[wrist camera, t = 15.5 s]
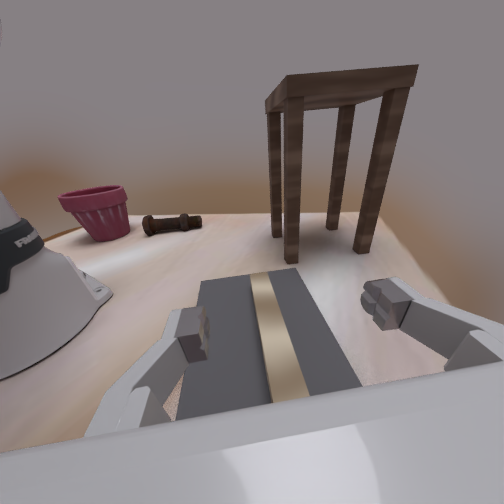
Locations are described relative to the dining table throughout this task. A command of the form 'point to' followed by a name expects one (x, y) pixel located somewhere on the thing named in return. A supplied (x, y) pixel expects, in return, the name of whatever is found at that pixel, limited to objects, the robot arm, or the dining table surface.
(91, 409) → the dining table surface
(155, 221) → the bolt
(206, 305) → the mat
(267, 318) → the hammer
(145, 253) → the dining table surface
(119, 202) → the plant pot
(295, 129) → the stool
